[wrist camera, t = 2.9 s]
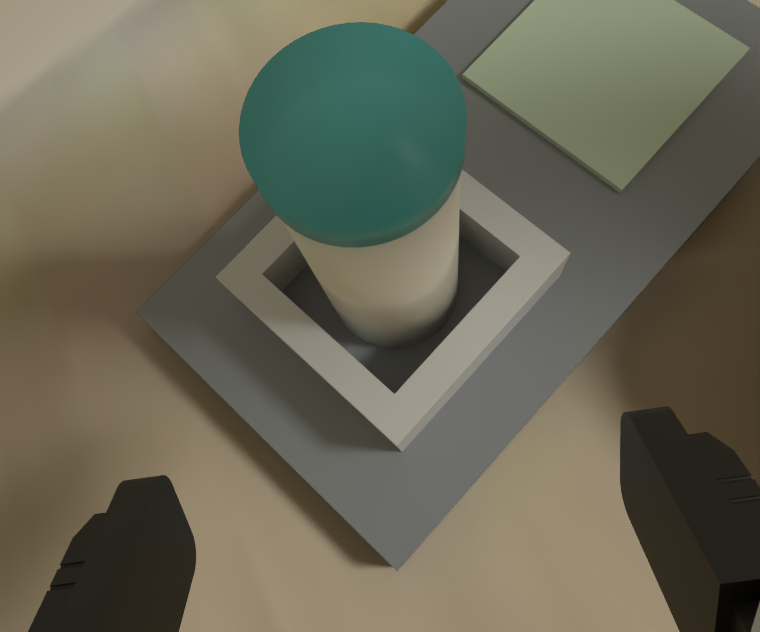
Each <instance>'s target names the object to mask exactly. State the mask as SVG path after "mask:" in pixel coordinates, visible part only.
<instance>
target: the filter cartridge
mask: <svg viewBox="0 0 760 632" xmlns="http://www.w3.org/2000/svg"><path fill="white" fill-rule="evenodd" d="M239 139H240V147H241V152H242V157H243V159H244V162H245V165H246V168H247V170H248V172H249V174H250V175H251V177H252V179H253V181H254V183H255V184H256V186H257V188H258V189H259V191H260V192H261V194H262V196H263V197H264V199H265V201H266V202H267V204H268V205H269V207H270V208H271V209H272V211H273V212H274V213H275V214H276V215H277V216H278V217H279V218H280V219H281V220H282V221H283V222H284V224H285V226H286V228H287V229H288V231H289V233H290V234H291V236H292V238H293V239H294V241H295V243H296V244H297V246H298V248H299V249H300V251H301V253H302V255H303V256H304V258H305V260H306V261H307V263H308V265H309V266H310V268H311V270H312V271H313V273H314V275H315V276H316V278H317V280H318V282H319V283H320V285H321V287H322V288H323V290H324V292H325V293H326V295H327V297H328V298H329V300H330V302H331V303H332V305H333V307H334V308H335V310H336V312H337V314H338V315H339V317H340V319H341V320H342V322H343V323H344V324H345V326H346V327H347V328H348V329H349V330H350V331H351V332H352V333H353V334H354V335H356V336H357V337H358V338H360V339H362V340H363V341H365V342H367V343H370V344H372V345H375V346H379V347H384V348H403V347H408V346H412V345H415V344H418V343H420V342H423V341H424V340H426V339H428V338H430V337H431V336H432V335H434V334H435V333H436V332H437V331H438V330H439V329H440V328H441V327H442V326H443V325H444V324H445V323H446V321H447V320H448V318H449V317H450V315H451V313H452V311H453V308H454V306H455V302H456V299H457V291H458V252H459V210H460V174H461V171H462V167H463V164H464V157H465V145H466V106H465V99H464V95H463V92H462V89H461V85H460V83H459V81H458V79H457V77H456V75H455V73H454V71H453V70H452V68H451V67H450V65H449V64H448V62H447V61H446V60H445V59H444V58H443V57H442V56H441V54H440V53H439V52H438V51H437V50H435V49H434V48H433V47H432V46H431V45H429V44H428V43H427V42H425V41H423V40H422V39H420V38H419V37H417V36H415V35H413V34H411V33H409V32H407V31H404V30H402V29H398V28H395V27H392V26H388V25H383V24H378V23H365V22H358V23H345V24H338V25H333V26H329V27H325V28H322V29H319V30H316V31H314V32H311V33H308V34H306V35H304V36H302V37H300V38H299V39H297V40H295V41H293V42H292V43H290V44H289V45H287V46H286V47H284V48H283V49H282V50H281V51H279V52H278V53H277V54H276V55H275V56H274V57H272V58H271V59H270V61H269V62H268V63H267V64H266V65H265V66H264V67H263V68H262V70H261V71H260V72H259V74H258V75H257V77H256V78H255V79H254V81H253V83H252V85H251V87H250V89H249V91H248V93H247V95H246V98H245V101H244V103H243V107H242V111H241V116H240V125H239Z"/></svg>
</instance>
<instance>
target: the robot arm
mask: <svg viewBox="0 0 760 632" xmlns="http://www.w3.org/2000/svg"><path fill="white" fill-rule="evenodd" d="M620 484H621V492H622V497H623V501H624V505H625V508H626V511H627V514H628V517H629V519H630V521H631V524H632V526H633V528H634V530H635V532H636V535H637V537H638V539H639V541H640V544H641V546H642V548H643V550H644V553H645V555H646V557H647V559H648V562H649V564H650V566H651V568H652V571H653V573H654V575H655V577H656V579H657V582H658V584H659V586H660V588H661V591H662V593H663V595H664V597H665V600H666V602H667V604H668V606H669V609H670V611H671V613H672V615H673V617H674V620H675V622H676V624H677V626H678V629H679V631H680V632H760V487H759V486H758V484H757V483H756V481H755V480H754V479H753V480H752V479H751V474H750V473H749V471H748V470H747V469H746V467H745V466H744V464H743V463H742V462H741V460H740V459H739V457H738V456H737V454H736V453H735V452H734V451H733V450H732V449H731V448H729V447H728V446H726V445H725V444H723V443H722V442H720V441H719V440H718V439H716V438H715V437H713V436H712V435H710V434H709V433H707V432H704V433H697V434H690V435H688V434H687V433H686V431H685V429H684V428H683V426H682V425H681V423H680V422H679V420H678V418H677V417H676V415H675V414H674V412H673V411H672V410H671V409H670V408H669V407H660V408H653V409H645V410H638V411H631V412H624V413H623V414H622V416H621V434H620ZM60 565H61V568H60V569H58V570H57V572H56V574H55V576H54V578H53V581H52V583H51V585H50V587H51V589H50V591H47V593H46V595H45V597H44V599H43V601H42V604H41V606H40V608H39V610H38V612H37V614H36V616H35V618H34V620H33V622H32V625H31V627H30V629H29V631H28V632H179V629H180V625H181V621H182V617H183V613H184V610H185V606H186V602H187V598H188V594H189V591H190V587H191V583H192V579H193V575H194V571H195V565H196V548H195V541H194V537H193V534H192V531H191V529H190V526H189V524H188V521H187V519H186V517H185V514H184V512H183V509H182V507H181V504H180V502H179V499H178V497H177V495H176V492H175V490H174V487H173V485H172V483H171V481H170V479H169V478H168V477H167V476H165V475H161V476H154V477H147V478H140V479H133V480H125V481H122V482H121V483H120V484H119V486H118V487H117V489H116V492H115V494H114V496H113V499H112V501H111V503H110V505H109V508H108V510H107V512H106V513H100V514H94V516H93V517H92V518H91V519H90V520H89V521H88V522H87V523H86V524H85V525H84V526H83V528H82V529H81V530H80V531H79V532H78V533H77V534H76V535H75V536H74V537H73V539H72V541H71V543H70V545H69V547H68V549H67V551H66V553H65V555H64V557H63V560H62V562H61V564H60Z"/></svg>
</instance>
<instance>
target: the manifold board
mask: <svg viewBox="0 0 760 632" xmlns="http://www.w3.org/2000/svg"><path fill="white" fill-rule="evenodd" d="M414 35H415V36H417V37H419V38H420V39H422V40H423V41H425V42H427V43H428V44H429V45H431V46H432V47H433V48H434V49H435V50H437V51H438V52H439V53H440V54H441V56H442V57H443V58H444V59H445V60H446V61H447V62H448V64H449V65H450V67H451V68H452V70H453V71H454V73H455V75H456V77H457V79H458V81H459V83H460V85H461V89H462V92H463V95H464V99H465V106H466V145H465V157H464V164H463V167H462V171H461V174H460V210H459V252H458V291H457V299H456V302H455V306H454V308H453V311H452V313H451V315H450V317H449V318H448V320H447V321H446V323H445V324H444V325H443V326H442V327H441V328H440V329H439V330H438V331H437V332H436V333H435V334H434V335H432V336H431V337H430V338H428V339H426V340H424V341H423V342H420V343H418V344H415V345H412V346H408V347H403V348H384V347H379V346H375V345H372V344H370V343H367V342H365V341H363V340H362V339H360V338H358V337H357V336H356V335H354V334H353V333H352V332H351V331H350V330H349V329H348V328H347V327H346V326H345V324H344V323H343V322H342V320H341V319H340V317H339V315H338V314H337V312H336V310H335V308H334V307H333V305H332V303H331V302H330V300H329V298H328V297H327V295H326V293H325V292H324V290H323V288H322V287H321V285H320V283H319V282H318V280H317V278H316V276H315V275H314V273H313V271H312V270H311V268H310V266H309V265H308V263H307V261H306V260H305V258H304V256H303V255H302V253H301V251H300V249H299V248H298V246H297V244H296V243H295V241H294V239H293V238H292V236H291V234H290V233H289V231H288V229H287V228H286V226H285V224H284V222H283V221H282V220H281V219H280V218H279V217H278V216H277V215H276V214H275V213H274V212H273V211H272V209H271V208H270V207H269V205H268V204H267V202H266V201H265V199H264V197H263V196H262V194H261V192H260V191H259V190H258V191H257V192H256V193H255V194H254V195H253V196H252V197H251V198H250V199H249V200H248V201H247V202H246V203H245V204H244V205H243V206H242V207H241V208H240V209H239V210H238V211H237V212H236V213H235V214H234V215H233V216H232V217H231V218H230V219H229V220H228V221H227V222H226V223H225V224H224V225H223V226H222V227H221V228H220V229H219V230H218V231H217V232H216V233H215V234H214V235H213V236H212V237H211V238H210V239H209V240H208V241H207V242H206V243H205V244H204V245H203V246H202V247H201V248H200V249H199V250H198V251H197V252H196V253H195V254H194V255H193V256H192V257H191V258H190V259H189V260H188V261H187V262H186V263H185V264H184V265H183V266H182V267H181V268H180V269H179V270H178V271H177V272H176V273H175V274H174V275H173V276H172V277H171V278H170V279H169V280H168V281H167V282H166V283H165V284H164V285H163V286H162V287H161V288H160V289H159V290H158V291H157V292H156V293H155V294H154V295H153V296H152V297H151V298H150V299H149V300H148V301H147V302H146V303H145V304H144V305H143V306H142V307H141V308H140V309H139V310H138V311H137V312H136V313H137V314H138V315H139V316H140V317H141V318H142V319H143V320H144V321H145V322H146V323H147V324H148V325H149V326H150V327H151V328H152V329H153V330H154V331H155V332H156V333H157V334H158V335H159V336H160V337H161V338H162V339H163V340H164V341H165V342H166V343H167V344H168V345H169V346H170V347H171V348H172V349H173V350H174V351H175V352H176V353H177V354H178V355H179V356H180V357H181V358H182V359H183V360H184V361H185V362H186V363H188V364H189V365H190V366H191V367H192V368H193V369H194V370H195V371H196V372H197V373H198V374H199V375H200V376H201V377H202V378H203V379H204V380H205V381H206V382H207V383H208V384H209V385H210V386H211V387H212V388H213V389H214V390H215V391H216V392H217V393H218V394H219V395H220V396H221V397H222V398H223V399H224V400H225V401H226V402H227V403H228V404H229V405H230V406H231V407H232V408H233V409H234V410H235V411H236V412H237V413H238V414H239V415H240V416H241V417H242V418H243V419H244V420H245V421H246V422H247V423H248V424H249V425H250V426H251V427H252V428H253V429H254V430H255V431H256V432H257V433H258V434H259V435H260V436H261V437H262V438H263V439H264V440H265V441H266V442H267V443H268V444H269V445H270V446H271V447H272V448H273V449H274V450H275V451H276V452H277V453H278V454H279V455H280V456H281V457H282V458H283V459H284V460H285V461H286V462H287V463H288V464H289V465H290V466H291V467H292V468H293V469H294V470H295V471H296V472H297V473H298V474H299V475H300V476H301V477H302V478H303V479H305V480H306V481H307V482H308V483H309V484H310V485H311V486H312V487H313V488H314V489H315V490H316V491H317V492H318V493H319V494H320V495H321V496H322V497H323V498H324V499H325V500H326V501H327V502H328V503H329V504H330V505H331V506H332V507H333V508H334V509H335V510H336V511H337V512H338V513H339V514H340V515H341V516H342V517H343V518H344V519H345V520H346V521H347V522H348V523H349V524H350V525H351V526H352V527H353V528H354V529H355V530H356V531H357V532H358V533H359V534H360V535H361V536H362V537H363V538H364V539H365V540H366V541H367V542H368V543H369V544H370V545H371V546H372V547H373V548H374V549H375V550H376V551H377V552H378V553H379V554H380V555H381V556H382V557H383V558H384V559H385V560H386V561H387V562H388V563H389V564H390V565H391V566H392V567H393V568H394V569H395V570H396V571H398V570H399V568H400V567H401V566H402V565H403V564H404V563H405V562H406V560H407V559H408V558H409V557H410V556H411V555H412V554H413V552H414V551H415V550H416V549H417V548H418V547H419V546H420V544H421V543H422V542H423V541H424V540H425V539H426V537H427V536H428V535H429V534H430V533H431V532H432V531H433V529H434V528H435V527H436V526H437V525H438V524H439V523H440V521H441V520H442V519H443V518H444V517H445V516H446V515H447V513H448V512H449V511H450V510H451V509H452V508H453V507H454V505H455V504H456V503H457V502H458V501H459V500H460V499H461V497H462V496H463V495H464V494H465V493H466V492H467V491H468V489H469V488H470V487H471V486H472V485H473V484H474V483H475V481H476V480H477V479H478V478H479V477H480V476H481V475H482V473H483V472H484V471H485V470H486V469H487V468H488V467H489V465H490V464H491V463H492V462H493V461H494V460H495V459H496V457H497V456H498V455H499V454H500V453H501V452H502V451H503V449H504V448H505V447H506V446H507V445H508V444H509V443H510V441H511V440H512V439H513V438H514V437H515V436H516V435H517V433H518V432H519V431H520V430H521V429H522V428H523V426H524V425H525V424H526V423H527V422H528V421H529V420H530V418H531V417H532V416H533V415H534V414H535V413H536V412H537V410H538V409H539V408H540V407H541V406H542V405H543V404H544V402H545V401H546V400H547V399H548V398H549V397H550V396H551V394H552V393H553V392H554V391H555V390H556V389H557V388H558V386H559V385H560V384H561V383H562V382H563V381H564V380H565V378H566V377H567V376H568V375H569V374H570V373H571V372H572V370H573V369H574V368H575V367H576V366H577V365H578V364H579V362H580V361H581V360H582V359H583V358H584V357H585V356H586V354H587V353H588V352H589V351H590V350H591V349H592V348H593V346H594V345H595V344H596V343H597V342H598V341H599V340H600V338H601V337H602V336H603V335H604V334H605V333H606V332H607V330H608V329H609V328H610V327H611V326H612V325H613V324H614V322H615V321H616V320H617V319H618V318H619V317H620V315H621V314H622V313H623V312H624V311H625V310H626V309H627V307H628V306H629V305H630V304H631V303H632V302H633V301H634V299H635V298H636V297H637V296H638V295H639V294H640V293H641V291H642V290H643V289H644V288H645V287H646V286H647V285H648V283H649V282H650V281H651V280H652V279H653V278H654V277H655V275H656V274H657V273H658V272H659V271H660V270H661V269H662V267H663V266H664V265H665V264H666V263H667V262H668V261H669V259H670V258H671V257H672V256H673V255H674V254H675V253H676V251H677V250H678V249H679V248H680V247H681V246H682V245H683V243H684V242H685V241H686V240H687V239H688V238H689V237H690V235H691V234H692V233H693V232H694V231H695V230H696V229H697V227H698V226H699V225H700V224H701V223H702V222H703V221H704V219H705V218H706V217H707V216H708V215H709V214H710V213H711V211H712V210H713V209H714V208H715V207H716V206H717V204H718V203H719V202H720V201H721V200H722V199H723V198H724V196H725V195H726V194H727V193H728V192H729V191H730V190H731V188H732V187H733V186H734V185H735V184H736V183H737V182H738V180H739V179H740V178H741V177H742V176H743V175H744V174H745V172H746V171H747V170H748V169H749V168H750V167H751V166H752V164H753V163H754V162H755V161H756V160H757V159H758V158H759V156H760V8H758V7H757V6H755V5H753V4H752V3H750V2H748V1H747V0H448V1H447V2H446V3H445V4H444V5H443V6H442V7H441V8H440V9H439V10H438V11H437V12H436V13H435V14H434V15H433V16H432V17H431V18H430V19H429V20H428V21H427V22H426V23H425V24H424V25H423V26H422V27H421V28H420V29H419V30H418V31H417V32H416V33H415V34H414Z"/></svg>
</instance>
